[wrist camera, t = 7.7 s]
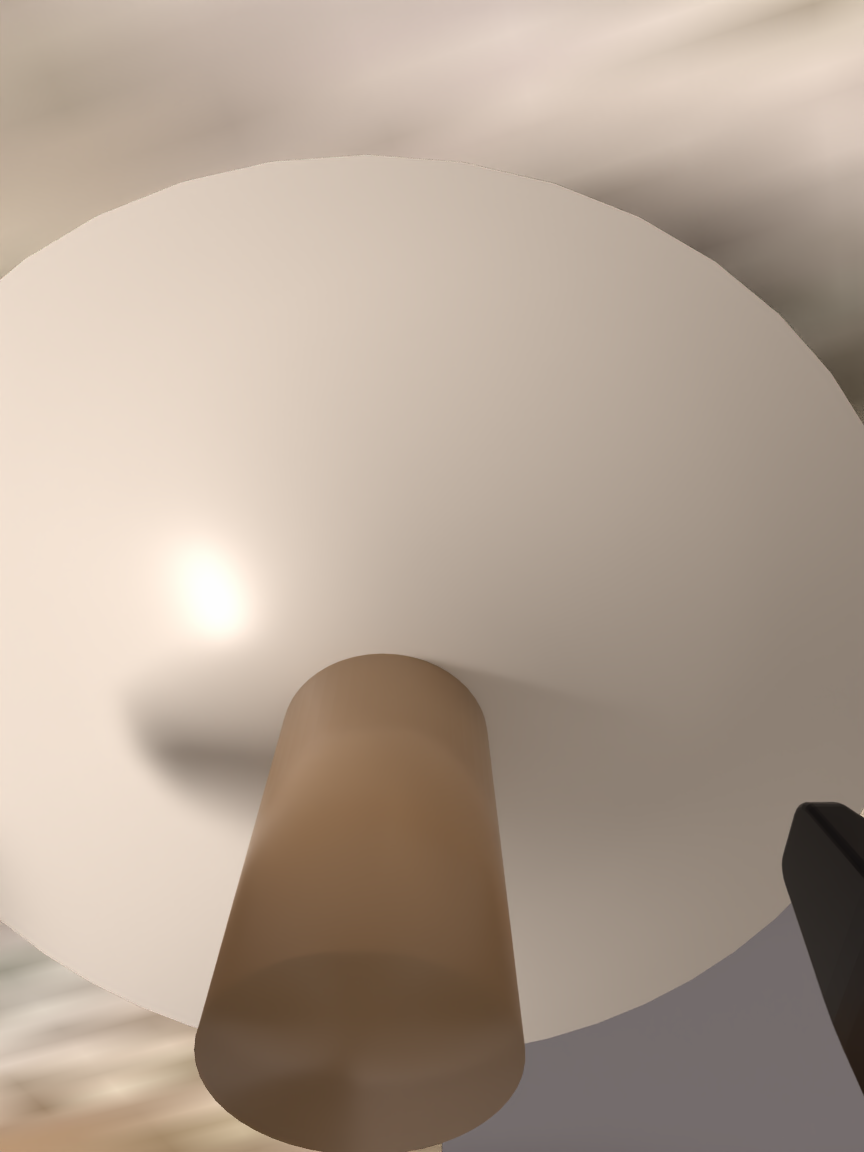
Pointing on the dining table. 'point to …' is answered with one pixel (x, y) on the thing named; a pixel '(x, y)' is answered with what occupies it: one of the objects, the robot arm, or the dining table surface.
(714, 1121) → the mat
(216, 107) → the dining table surface
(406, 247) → the lid
